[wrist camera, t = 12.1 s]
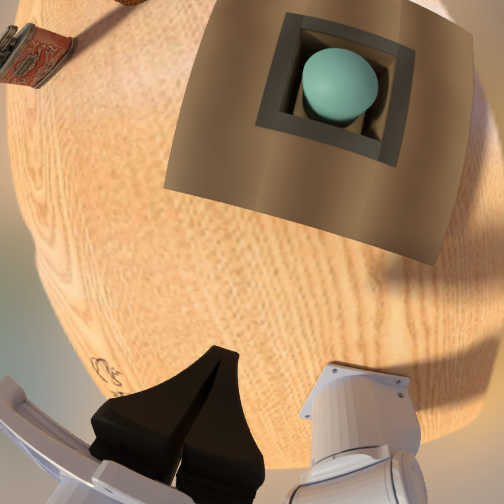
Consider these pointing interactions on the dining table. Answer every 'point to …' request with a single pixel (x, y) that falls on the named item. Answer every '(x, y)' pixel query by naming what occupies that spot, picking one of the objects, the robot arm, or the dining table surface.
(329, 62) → the peg
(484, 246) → the dining table surface
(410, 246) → the block
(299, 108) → the beige square pad
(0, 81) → the lighter
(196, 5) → the dining table surface
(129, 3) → the disposable coffee cup
